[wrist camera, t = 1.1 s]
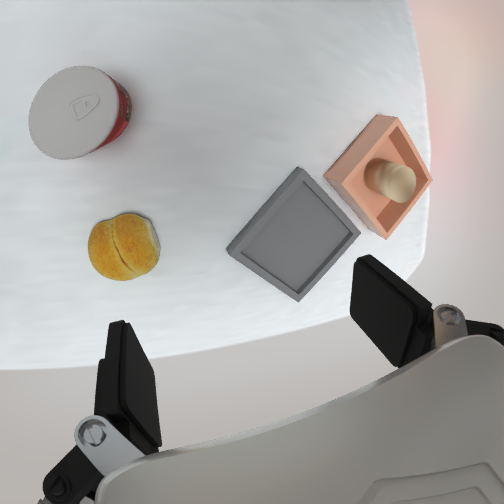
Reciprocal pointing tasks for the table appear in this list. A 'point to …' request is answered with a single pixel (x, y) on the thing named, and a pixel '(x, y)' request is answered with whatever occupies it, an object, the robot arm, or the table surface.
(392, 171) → the beech cylinder
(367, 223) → the salmon square tray
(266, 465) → the robot arm
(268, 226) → the charcoal tray
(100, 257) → the bread roll
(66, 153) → the canned food
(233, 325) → the table surface
